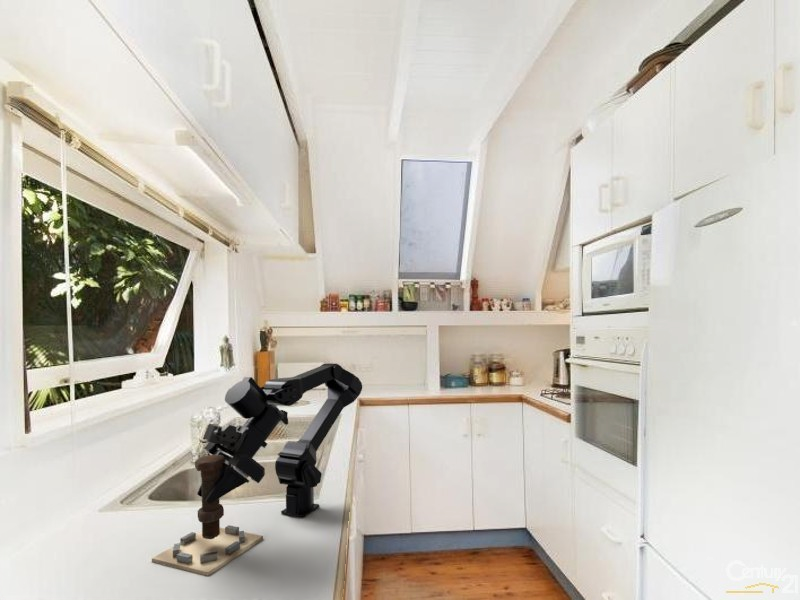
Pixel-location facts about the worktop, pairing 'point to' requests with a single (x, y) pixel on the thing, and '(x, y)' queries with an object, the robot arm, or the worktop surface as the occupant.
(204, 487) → the bolt
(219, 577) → the worktop surface
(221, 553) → the tan flat square board
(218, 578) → the worktop surface
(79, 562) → the worktop surface
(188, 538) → the castellated ring
